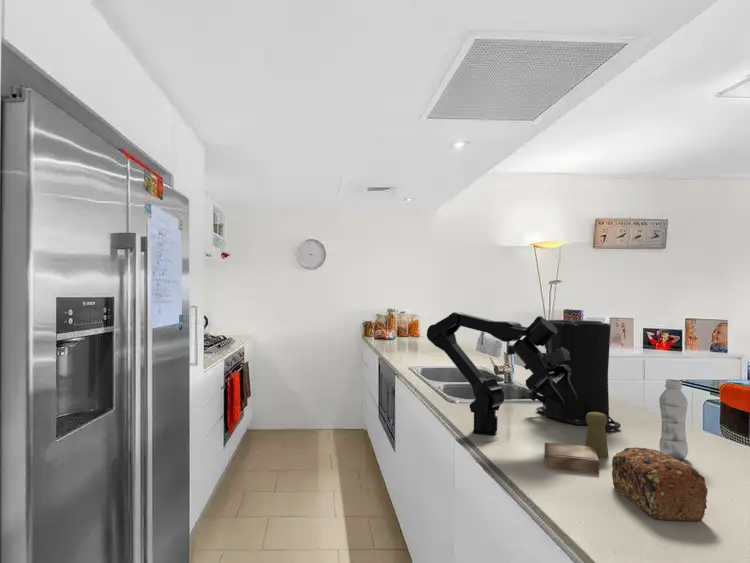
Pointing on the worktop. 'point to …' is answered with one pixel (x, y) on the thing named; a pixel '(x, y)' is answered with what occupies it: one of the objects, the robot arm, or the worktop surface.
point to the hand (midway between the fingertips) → (569, 401)
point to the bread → (660, 484)
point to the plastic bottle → (673, 420)
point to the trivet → (571, 457)
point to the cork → (597, 433)
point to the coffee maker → (581, 371)
